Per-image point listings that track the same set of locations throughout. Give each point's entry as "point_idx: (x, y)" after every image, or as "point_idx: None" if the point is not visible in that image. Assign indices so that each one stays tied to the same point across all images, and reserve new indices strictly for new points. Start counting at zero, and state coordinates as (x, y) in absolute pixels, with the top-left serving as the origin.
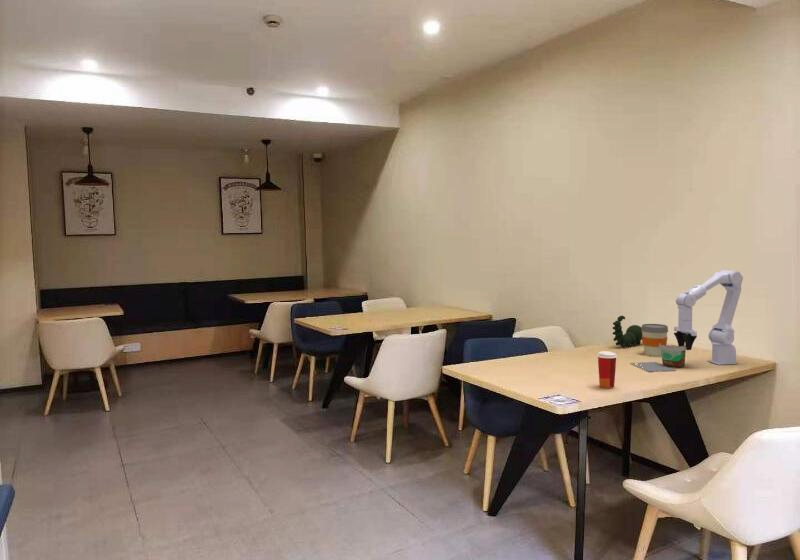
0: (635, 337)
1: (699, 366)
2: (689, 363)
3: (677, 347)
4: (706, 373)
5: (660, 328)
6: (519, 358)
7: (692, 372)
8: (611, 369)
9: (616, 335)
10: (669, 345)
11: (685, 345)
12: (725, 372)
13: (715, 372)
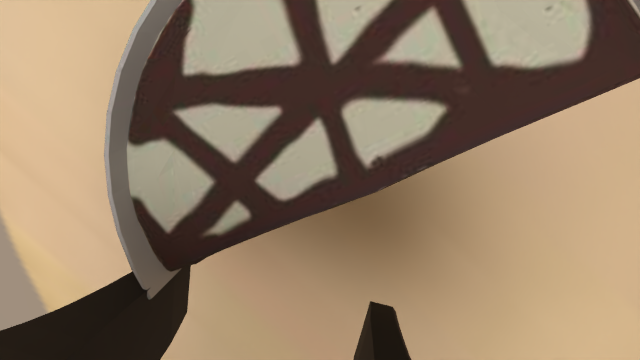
0: None
1: (266, 286)
2: (396, 305)
3: (119, 79)
4: (28, 137)
5: None
6: None
7: (77, 48)
8: None
9: None
10: (429, 138)
11: (141, 284)
12: (44, 287)
13: (52, 227)
